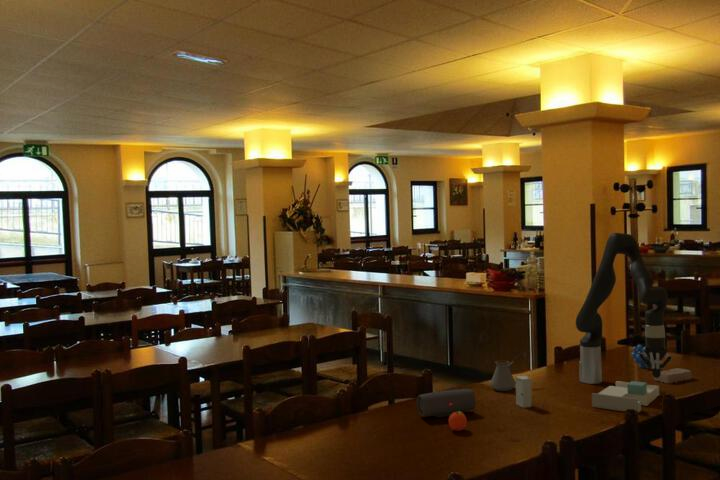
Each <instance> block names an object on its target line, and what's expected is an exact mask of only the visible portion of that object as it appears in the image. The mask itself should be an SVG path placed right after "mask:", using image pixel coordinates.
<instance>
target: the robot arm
mask: <svg viewBox="0 0 720 480" xmlns="http://www.w3.org/2000/svg"><path fill="white" fill-rule="evenodd" d="M641 253H642V252H641V250H640V247H639V246H638V242H637V240H636V238H635V237H634V236H633V235H632V234H629V233H624V232H623V233H622V232H613V233H611V234H610V235H609V237H608V238H607V241H606V244H605V246H604V250H603V254H602V258H601V260H600V263H599V266H598V269H597V272H596V273H595V276H594V278H593V281H592V282H591V286H590V288H589V291H588V293H587V296H586V298H585V301H584V302H583V304H582V306H581V308H580V310H579V312H578V314H577V315H576V318H575V328H576V329H577V330H578V331H579V332H581V333H585V334H584V335H583V336H582V337H581V338H580V340H579V348H580V349H579V353H580V355H579V357H580V361H579V362H578V367H579V368H578V370H579V382H580V383H584V384H589V385H590V384H591V385H592V384H593V385H595V384H596V385H598V384H601V383H602V382H603V379H602V378H603V377H602V351H601V346H602V345H601V344H602V340H603V320H602V317H601V315H600V314H599V312H598V310H599V308H600V307H601V305H602V304H604V303H605V301H606V300H607V299H608V298H609V297H610V295H611V294H612V292H613V290H614V287H615V284H616V281H617V277H616V271H615V267H614V262H615V259H616V256H617V255H619V254H620V255H626V256H627V257H628V258H629V259H630V266H629V271H630V273H629V274H630V275H631V277H632V280H633V281H634V283H635V284H636V288H637V291H638V298H639V301H640V302H641V303H642V304H644V305H646V306H649V305H654V307H652V308H651V309H648V310H646V311H645V313H644V323H645V324H644V325H645V326H644V338H645V341H644V342H645V347H646V348H645V352H643V353H642V354H640V355H639V356H640V357H641V359H642V360H643V361H644V362H645V363H646V365H647V366H648V367H650V368H651V370H652V376H653V379H654V378H659V377H660V376H661V371H662V368H665V367H666V366H667V365H668V364H669V362H670V361H672V359H673V358H674V357H673V355H672V354H671V355H670V354H669V353H668V350H667V348H666V330H665V319H664V316H665V315H664V314H665V310H666V306H667V302H668V299H669V297H668V295H669V294H668V292H667V290H666V289H665V288H664V287H663V286H655V287H654V286H653V285H654V283H655V279H654V277H653V275H652V274H651V272H650V271H649V269H648V267H647V266H646V263H645V262H644V259H643V257H642V254H641ZM647 356H648V357H649V358H650V359H651V362H650V361H649V360H648V358H647ZM664 358H665V360H664V362H662V360H663V359H664Z"/></svg>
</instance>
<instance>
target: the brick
mask: <svg viewBox="0 0 720 480" xmlns="http://www.w3.org/2000/svg"><path fill="white" fill-rule="evenodd" d="M653 379H654V380H655V381H657V382H659V381H660V382H661V383H663V382H664V384H674V383H673V382H675V383H679V382H678V381H681V382H684V381H683V380H685V381H689V380H692V379H693V377H692V371H691V370H690V369H685V368H679V367H675V368H671V369H667V370H661V376H660V377H659V378H654V377H653Z"/></svg>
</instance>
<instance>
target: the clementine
mask: <svg viewBox="0 0 720 480" xmlns="http://www.w3.org/2000/svg"><path fill="white" fill-rule="evenodd" d="M467 423H468V420H467V417H466V415H465V413H464V411H463V412H460V411H458V412H454V413H452V414H451V415H450V416H448V425H449V427H450V428H451V429H452V430H453V431H457V432H458V431H459V432H460V431H463V430H465V428H466V427H467Z"/></svg>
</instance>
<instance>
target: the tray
mask: <svg viewBox="0 0 720 480" xmlns="http://www.w3.org/2000/svg"><path fill="white" fill-rule="evenodd" d="M630 382H631V381H630ZM630 382H629V381H628V382H627V381H621V380H616V381H615V386H614V385H609V386H607V387H606V388H604V389H602V390H601V391H600V392H597V393H596V392H595V393H594V392H591V407H592V408H599V409H604V410H605V409H606V410H612V411H619V412H625V411H626V410H627V409H634V410H636V411H637V412H638V413H637V414H639V413H640V412H641V411H642V406H644V407H645V406H646V407H647V406H648V405H650V404H651V403H652V402H653V401H654V400H655V399H656V398H658V397H659V396H660V386H659V385H654V384H647V393H645V394H644V395H643V396H642V395H634V394H628V389H627V384H628V383H630ZM657 396H658V397H657Z"/></svg>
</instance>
